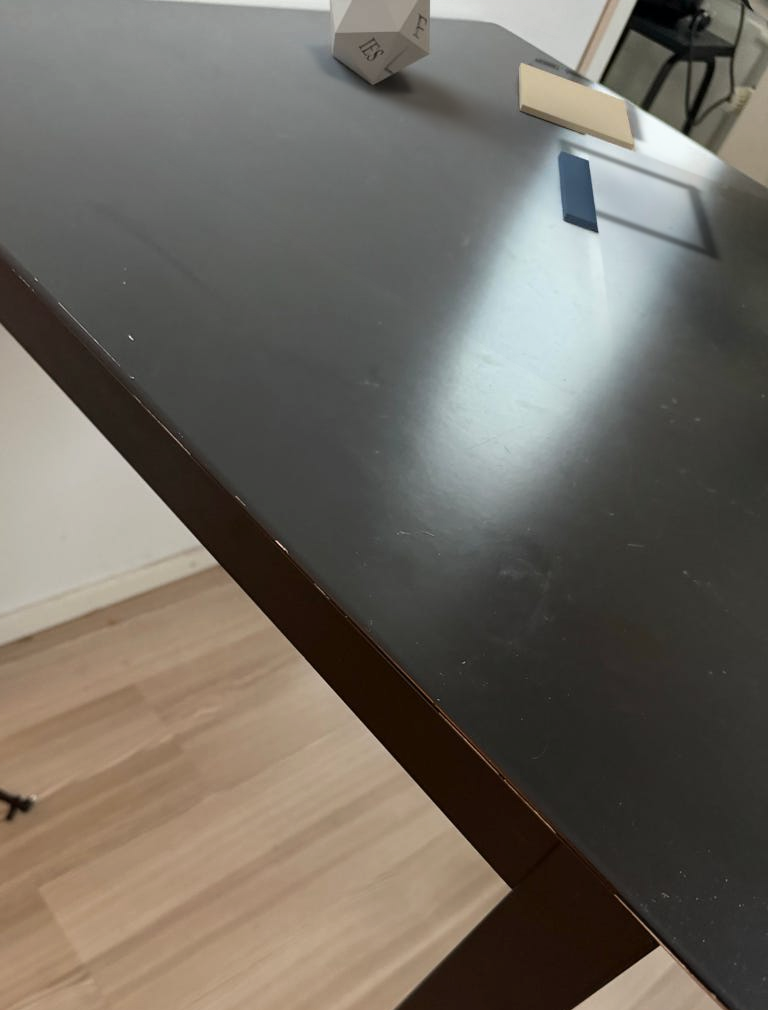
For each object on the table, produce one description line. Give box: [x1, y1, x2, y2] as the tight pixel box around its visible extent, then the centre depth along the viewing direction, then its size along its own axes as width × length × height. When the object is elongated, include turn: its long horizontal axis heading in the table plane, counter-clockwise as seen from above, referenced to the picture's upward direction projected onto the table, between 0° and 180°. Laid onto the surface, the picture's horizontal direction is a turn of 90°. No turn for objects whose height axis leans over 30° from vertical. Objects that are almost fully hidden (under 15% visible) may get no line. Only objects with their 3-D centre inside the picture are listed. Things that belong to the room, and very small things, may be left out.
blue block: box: [557, 150, 599, 233], centre depth 79 cm, size 12×12×1 cm
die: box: [329, 0, 431, 86], centre depth 80 cm, size 8×9×10 cm
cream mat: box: [518, 62, 635, 151], centre depth 91 cm, size 11×11×1 cm
